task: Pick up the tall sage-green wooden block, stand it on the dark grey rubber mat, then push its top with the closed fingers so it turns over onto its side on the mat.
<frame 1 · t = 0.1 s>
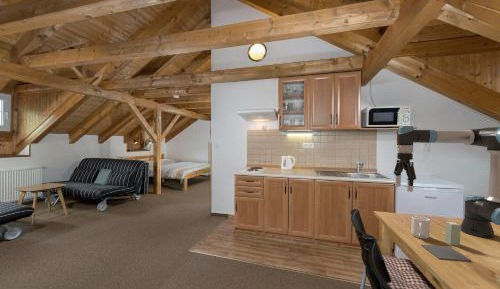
hand: (403, 188, 136), 28 cm above the table, fingers open, 13 cm apart
mat: (444, 253, 117), on the table
block: (452, 243, 128), on the table
mug: (420, 237, 136), on the table
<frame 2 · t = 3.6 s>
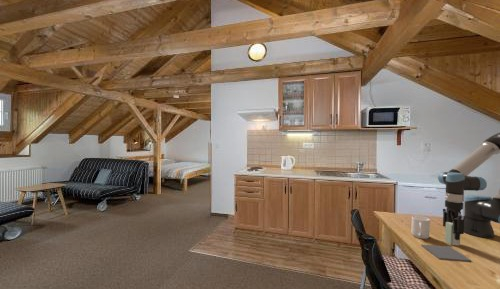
hand: (452, 242, 128), 0 cm above the table, fingers closed on block, 4 cm apart
block: (452, 243, 128), on the table, touching gripper
everything else where it was.
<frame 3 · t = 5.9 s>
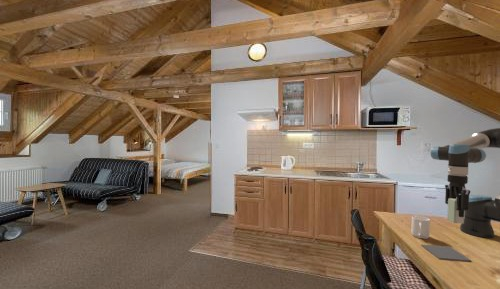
hand: (455, 221, 117), 16 cm above the table, fingers closed on block, 4 cm apart
block: (455, 221, 117), point 16 cm above the table, touching gripper
everything else where it was.
when the fingers open (2 cm above the table, at t = 8.3 s): block stays where it is, resting on mat.
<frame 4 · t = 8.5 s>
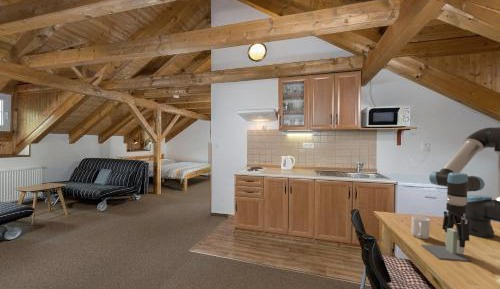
hand: (454, 248, 117), 2 cm above the table, fingers open, 7 cm apart
block: (454, 251, 117), point 1 cm above the table, touching mat
everything else where it was.
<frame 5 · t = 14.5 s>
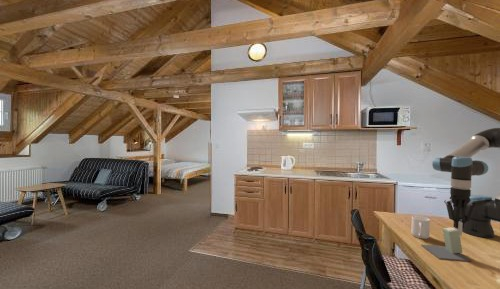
hand: (458, 234, 116), 10 cm above the table, fingers closed
block: (454, 250, 117), point 1 cm above the table, tilted 11°, touching mat
everything else where it was.
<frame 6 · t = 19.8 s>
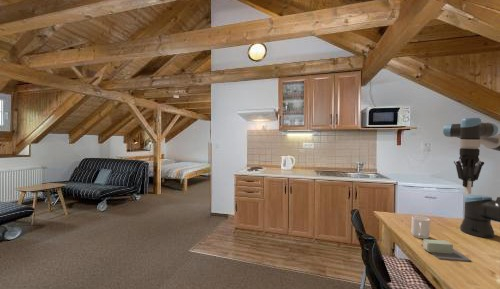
hand: (467, 193, 121), 29 cm above the table, fingers closed
block: (449, 247, 117), point 3 cm above the table, tilted 90°, touching mat
everything else where it was.
at the end: block tilted 90°; block inside the target area (3.8 cm from its centre), point 2.8 cm above the table; the gripper is holding nothing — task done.
